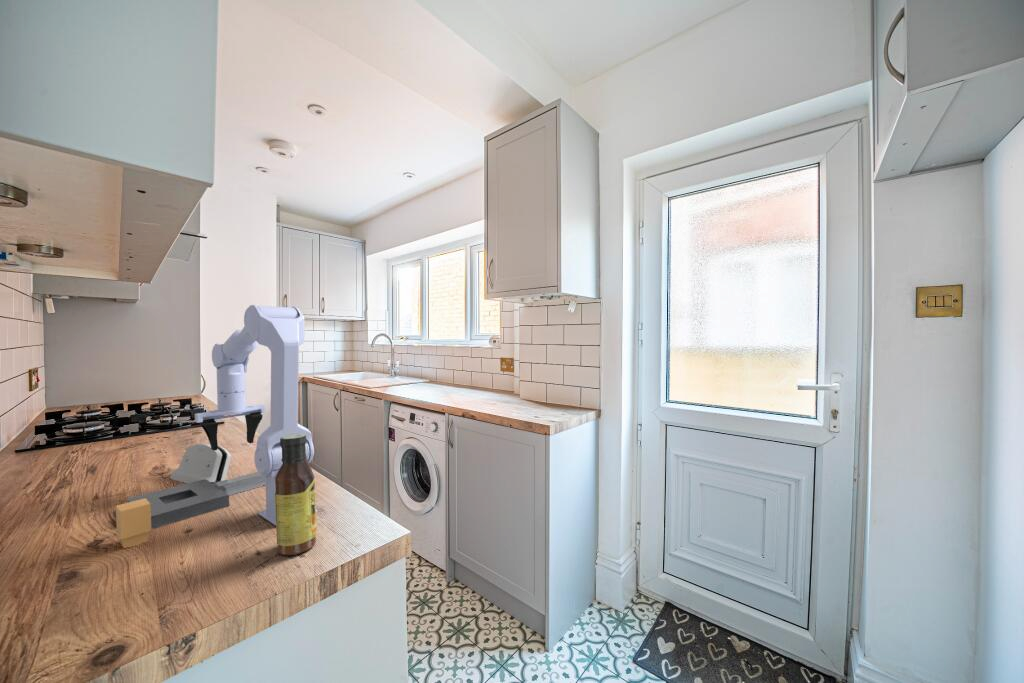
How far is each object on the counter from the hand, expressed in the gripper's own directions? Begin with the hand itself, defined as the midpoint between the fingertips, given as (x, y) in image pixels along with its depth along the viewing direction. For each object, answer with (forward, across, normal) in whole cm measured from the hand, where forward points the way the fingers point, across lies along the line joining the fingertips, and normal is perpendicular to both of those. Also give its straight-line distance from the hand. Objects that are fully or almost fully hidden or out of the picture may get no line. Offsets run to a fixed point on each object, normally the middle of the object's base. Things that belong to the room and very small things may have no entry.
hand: (232, 445), depth 99 cm
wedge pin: (+10, +21, +17) cm, 29 cm away
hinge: (+10, +3, -13) cm, 17 cm away
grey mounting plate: (+10, +6, +5) cm, 13 cm away
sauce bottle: (+10, +4, +43) cm, 44 cm away
